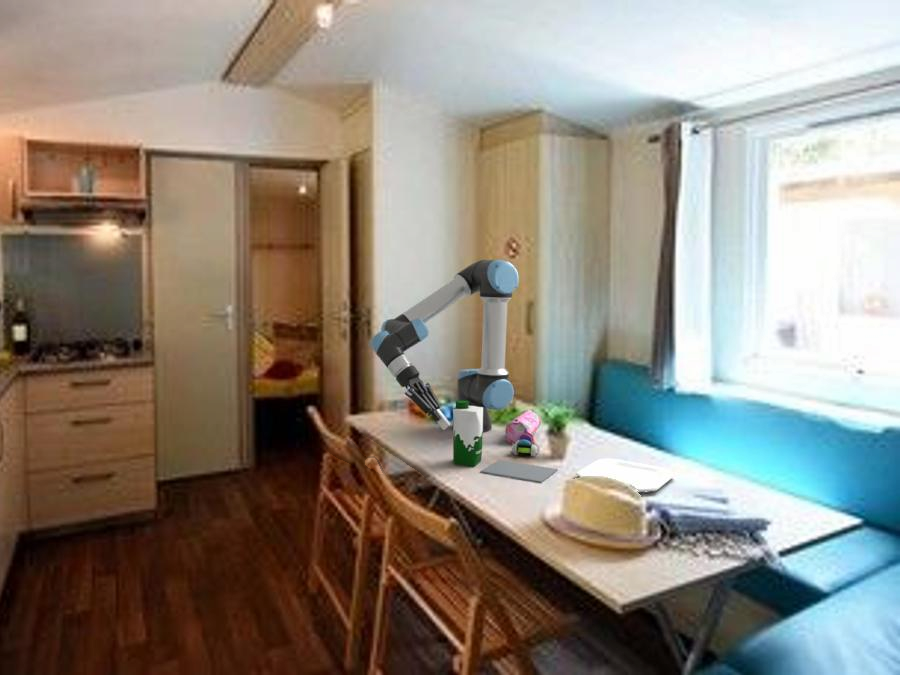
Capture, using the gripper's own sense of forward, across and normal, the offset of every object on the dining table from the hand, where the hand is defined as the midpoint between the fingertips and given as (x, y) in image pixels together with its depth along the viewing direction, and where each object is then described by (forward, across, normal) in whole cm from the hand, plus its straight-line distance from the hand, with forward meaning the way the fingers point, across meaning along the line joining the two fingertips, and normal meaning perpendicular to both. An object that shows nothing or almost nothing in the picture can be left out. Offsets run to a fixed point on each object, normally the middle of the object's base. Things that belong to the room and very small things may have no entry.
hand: (447, 427), depth 228 cm
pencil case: (+15, -39, 0) cm, 42 cm away
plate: (+47, -11, +32) cm, 58 cm away
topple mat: (+26, -1, +10) cm, 28 cm away
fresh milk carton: (+13, -1, -3) cm, 13 cm away
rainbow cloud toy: (+22, -20, +6) cm, 30 cm away
